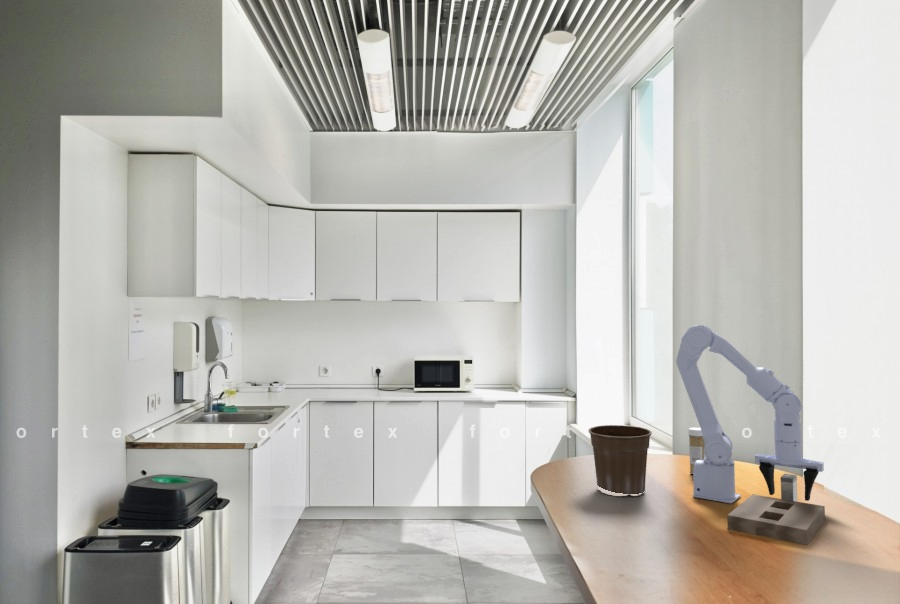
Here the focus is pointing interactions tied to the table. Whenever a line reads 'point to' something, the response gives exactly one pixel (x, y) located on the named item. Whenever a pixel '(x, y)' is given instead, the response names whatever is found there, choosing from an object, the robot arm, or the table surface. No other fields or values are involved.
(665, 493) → the table surface
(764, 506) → the post foot
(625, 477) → the plant pot
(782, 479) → the brushed metal block
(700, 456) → the sprinkles bottle
